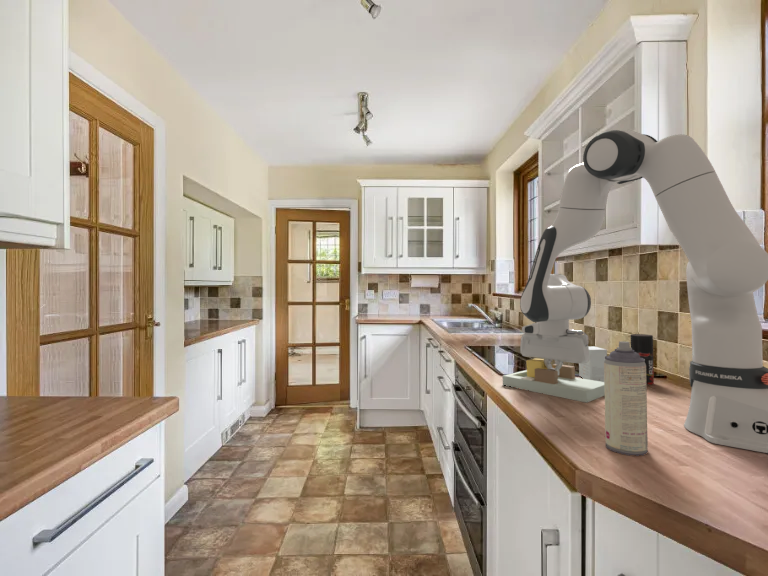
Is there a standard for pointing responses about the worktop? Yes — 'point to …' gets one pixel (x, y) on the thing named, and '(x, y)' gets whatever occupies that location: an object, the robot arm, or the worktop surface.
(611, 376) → the aerosol can
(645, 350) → the deodorant
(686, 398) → the worktop surface
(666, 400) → the worktop surface
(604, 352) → the small box
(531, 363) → the block
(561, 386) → the board
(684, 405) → the worktop surface
